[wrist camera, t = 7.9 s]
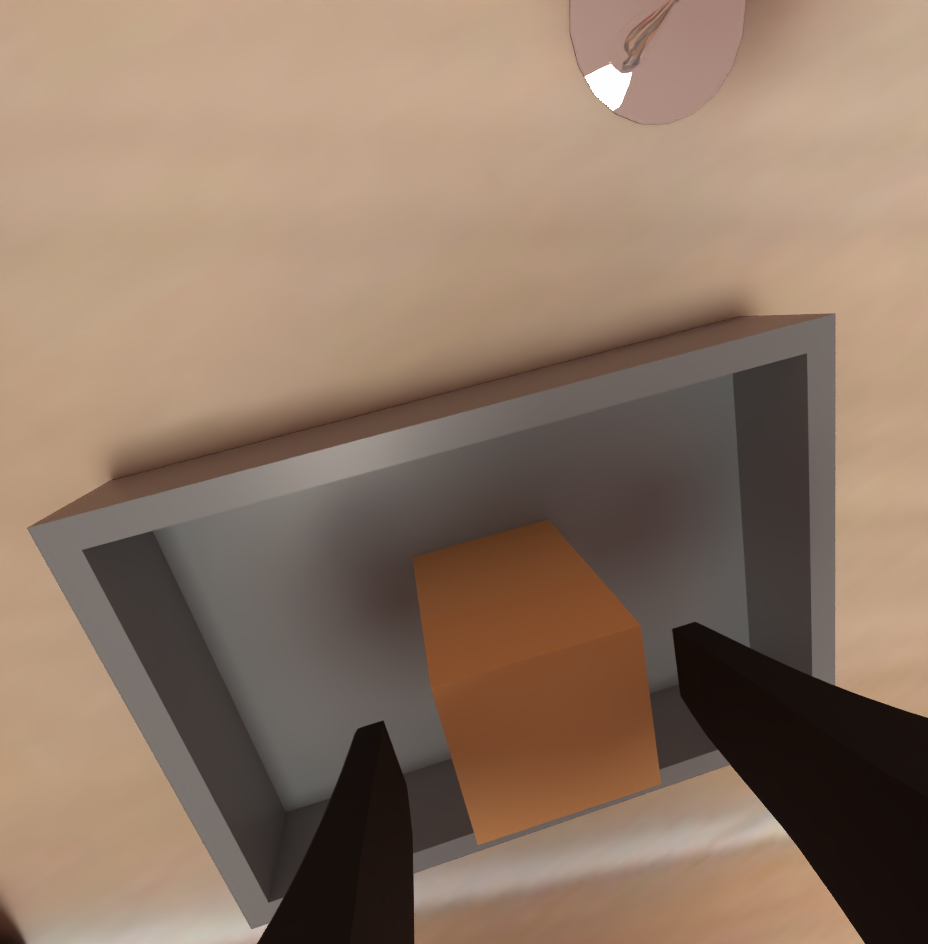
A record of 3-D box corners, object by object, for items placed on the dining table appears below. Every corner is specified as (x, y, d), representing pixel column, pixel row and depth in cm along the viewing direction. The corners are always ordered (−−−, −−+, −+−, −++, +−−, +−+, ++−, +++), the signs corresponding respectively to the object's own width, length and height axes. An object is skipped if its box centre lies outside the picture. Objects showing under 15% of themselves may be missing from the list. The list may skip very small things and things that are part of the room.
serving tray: (759, 662, 20) (834, 728, 17) (274, 819, 18) (251, 929, 15) (739, 316, 16) (835, 313, 12) (109, 481, 14) (26, 528, 11)
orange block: (569, 634, 17) (661, 783, 12) (445, 672, 17) (477, 845, 11) (548, 519, 16) (640, 625, 10) (412, 556, 16) (430, 688, 10)
